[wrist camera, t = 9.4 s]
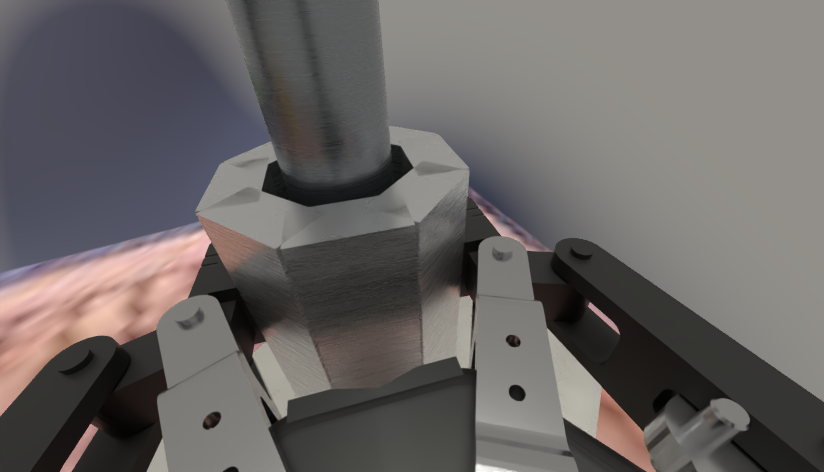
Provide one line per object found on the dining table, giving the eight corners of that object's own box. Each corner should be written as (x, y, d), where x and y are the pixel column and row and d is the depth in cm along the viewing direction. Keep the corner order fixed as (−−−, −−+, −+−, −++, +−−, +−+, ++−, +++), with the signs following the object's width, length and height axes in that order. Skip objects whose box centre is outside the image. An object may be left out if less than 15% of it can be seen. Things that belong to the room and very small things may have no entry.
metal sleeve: (267, 379, 12) (150, 193, 7) (362, 280, 16) (330, 115, 11) (397, 472, 9) (358, 286, 5) (472, 328, 13) (495, 143, 8)
